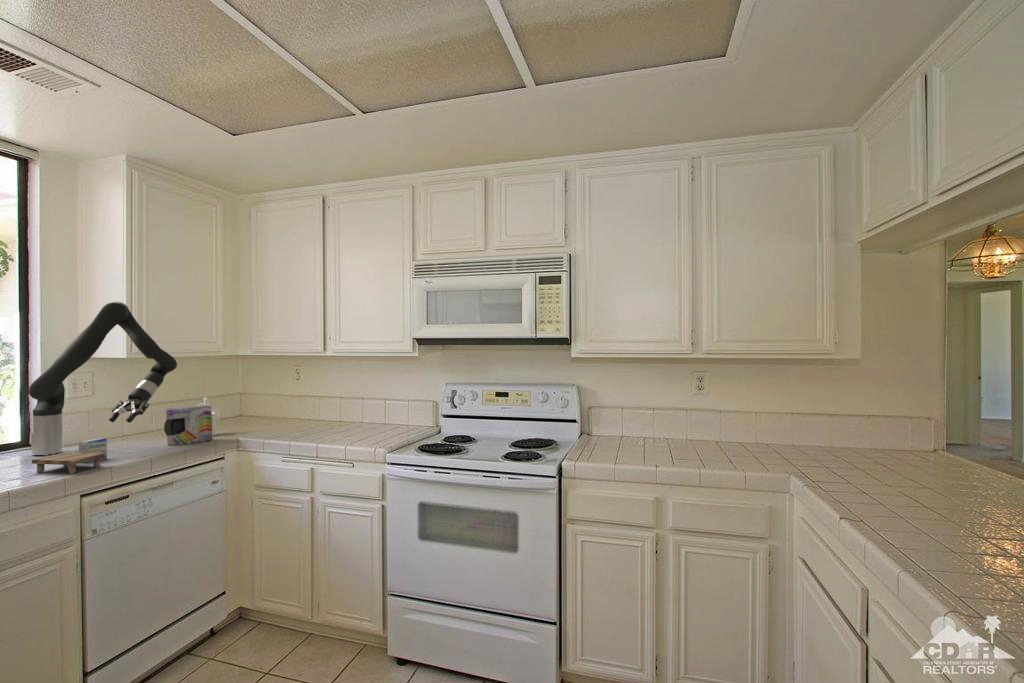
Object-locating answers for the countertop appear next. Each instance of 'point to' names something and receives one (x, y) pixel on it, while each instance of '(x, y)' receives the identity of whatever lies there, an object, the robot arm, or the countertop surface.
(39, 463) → the walnut shelf
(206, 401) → the white french press
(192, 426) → the cake pan box
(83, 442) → the medicine box
